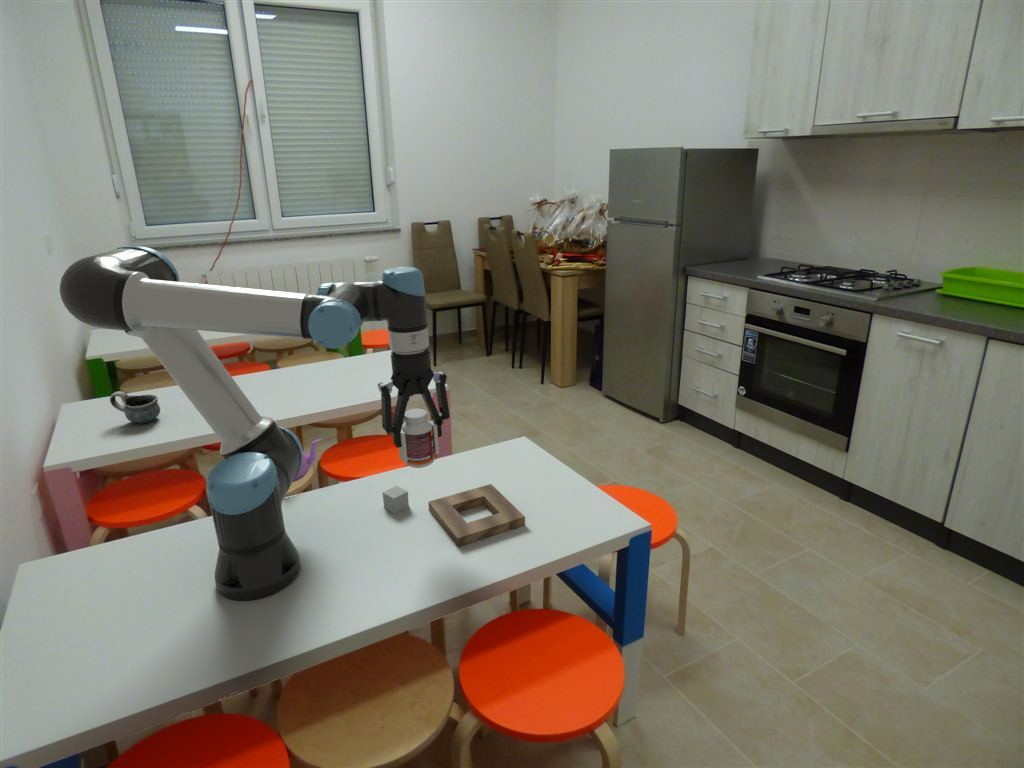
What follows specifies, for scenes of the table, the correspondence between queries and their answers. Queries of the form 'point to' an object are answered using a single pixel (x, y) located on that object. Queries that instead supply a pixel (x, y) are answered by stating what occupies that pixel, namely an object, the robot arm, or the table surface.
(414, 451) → the pill bottle
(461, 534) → the socket board
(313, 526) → the table surface
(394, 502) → the grey eraser block
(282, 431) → the robot arm
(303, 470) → the teapot
